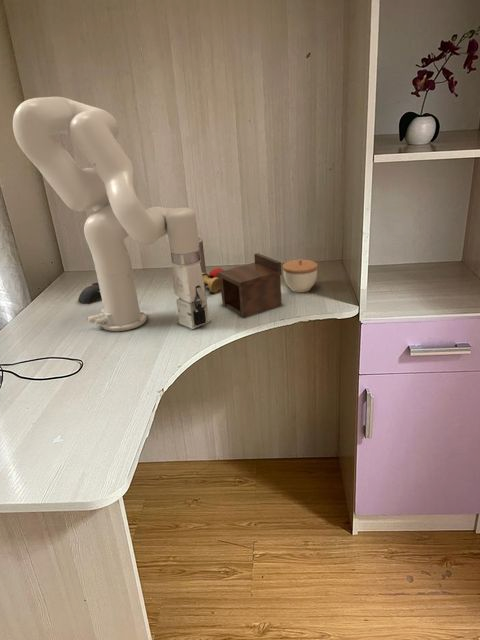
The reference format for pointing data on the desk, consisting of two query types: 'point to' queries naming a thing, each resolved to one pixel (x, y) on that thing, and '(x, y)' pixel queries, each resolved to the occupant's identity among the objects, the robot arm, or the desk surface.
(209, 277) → the kendama
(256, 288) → the shelf
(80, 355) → the desk surface
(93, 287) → the computer mouse
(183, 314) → the white cardboard box
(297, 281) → the trinket box
